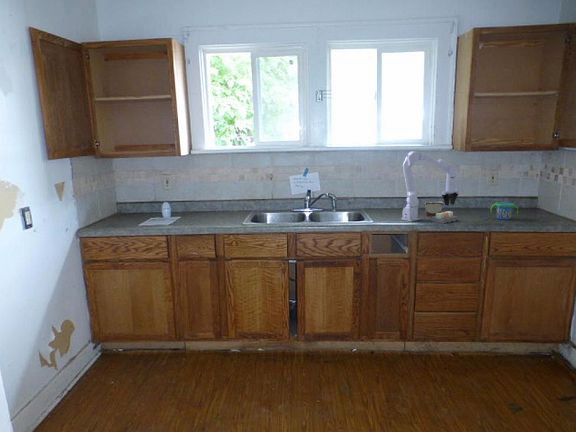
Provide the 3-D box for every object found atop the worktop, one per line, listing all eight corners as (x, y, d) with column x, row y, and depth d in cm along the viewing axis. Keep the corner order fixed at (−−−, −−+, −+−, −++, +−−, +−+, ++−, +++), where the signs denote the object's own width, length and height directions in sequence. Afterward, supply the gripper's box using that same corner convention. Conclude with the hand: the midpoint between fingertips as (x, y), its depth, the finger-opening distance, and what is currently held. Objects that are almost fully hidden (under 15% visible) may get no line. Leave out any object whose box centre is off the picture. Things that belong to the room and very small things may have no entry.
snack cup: (517, 218, 251) (518, 203, 249) (517, 221, 242) (519, 205, 240) (490, 216, 258) (491, 201, 256) (489, 219, 249) (490, 204, 247)
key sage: (440, 219, 242) (440, 214, 242) (435, 218, 245) (435, 213, 244) (443, 219, 244) (444, 213, 243) (439, 218, 247) (439, 212, 246)
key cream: (449, 217, 247) (449, 212, 246) (444, 217, 250) (445, 211, 249) (452, 217, 249) (453, 212, 248) (447, 216, 252) (448, 211, 251)
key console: (442, 223, 240) (443, 219, 239) (430, 221, 247) (430, 217, 247) (457, 220, 248) (457, 216, 247) (445, 218, 255) (445, 214, 254)
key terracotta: (444, 218, 245) (445, 213, 244) (440, 217, 248) (440, 212, 247) (448, 218, 246) (448, 212, 246) (443, 217, 249) (443, 212, 249)
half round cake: (440, 214, 266) (441, 200, 264) (442, 216, 260) (443, 202, 258) (421, 214, 268) (422, 200, 266) (423, 216, 262) (424, 202, 260)
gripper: (449, 185, 238) (447, 206, 241) (463, 183, 246) (461, 204, 248) (439, 184, 244) (438, 205, 247) (453, 182, 251) (452, 203, 254)
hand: (449, 204), depth 248 cm, fingers open, 5 cm apart
